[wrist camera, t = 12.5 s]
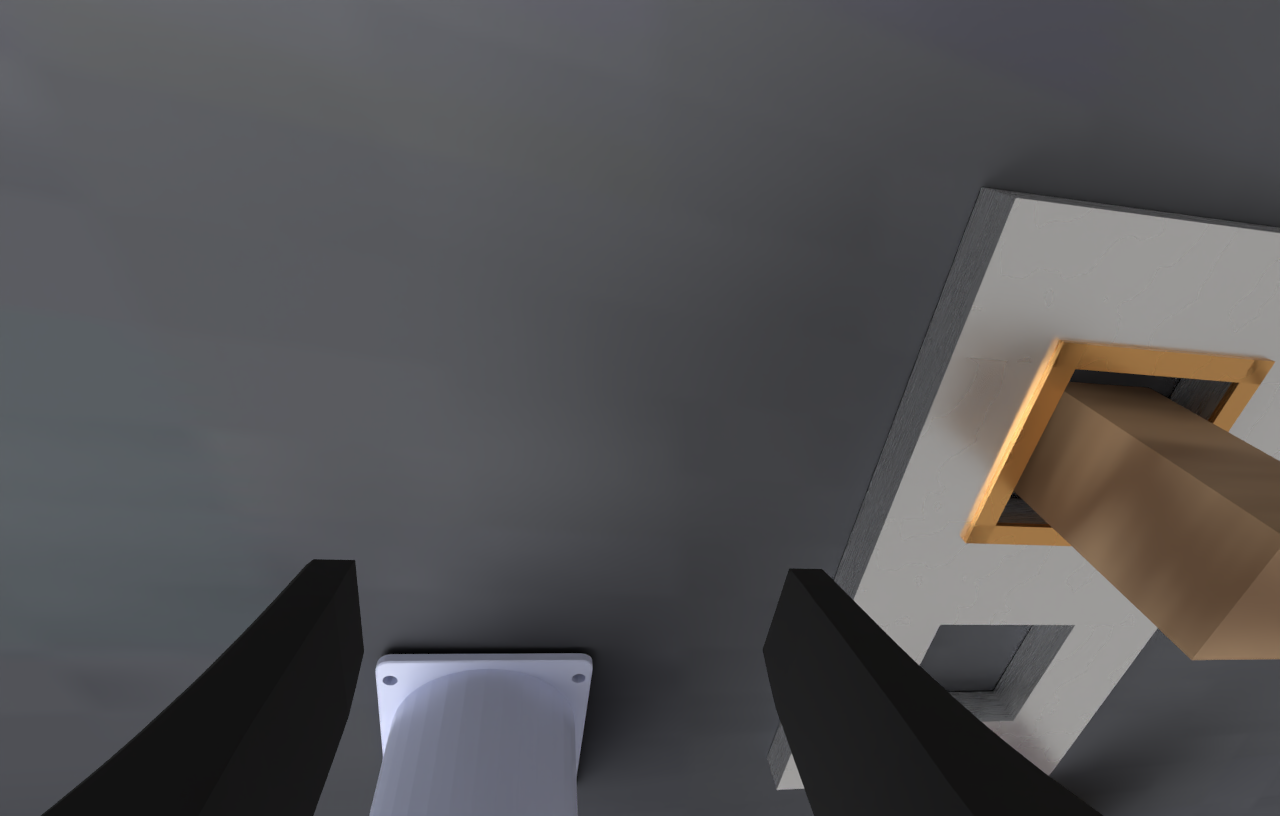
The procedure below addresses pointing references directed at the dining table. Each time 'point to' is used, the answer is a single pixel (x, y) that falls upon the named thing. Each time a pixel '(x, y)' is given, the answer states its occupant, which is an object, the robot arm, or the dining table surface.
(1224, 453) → the walnut peg
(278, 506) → the dining table surface
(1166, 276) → the rail
